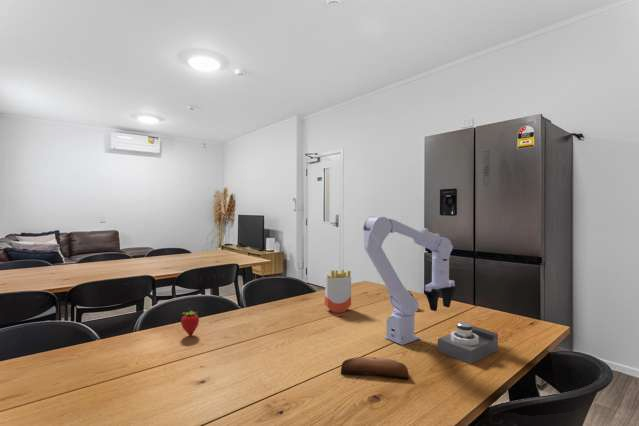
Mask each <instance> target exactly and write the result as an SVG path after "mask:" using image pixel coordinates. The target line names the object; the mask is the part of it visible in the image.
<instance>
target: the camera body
mask: <svg viewBox="0 0 639 426" xmlns="http://www.w3.org/2000/svg"><path fill="white" fill-rule="evenodd" d="M498 341H499V333H498V332H494V331H491V330H489V329H488V330H487V329H484V328H480V327H477V326H473V325H472V339H464V338H460V337H457V330H452V331H451V332H450V333H448V334H446V335H444V336H441V337H439V338H437V352H438V353H441V354H443V355H445V356H448V357H451V358H453V359H457V360H459V361H461V362H464V363H466V364H469V365H473V364H475V363H477V362H478V361H480V360H482V359H484V358H486V357H488V356H490V355H492V354H494V353H496V352H498V349H499V343H498Z"/></svg>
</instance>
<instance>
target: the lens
mask: <svg viewBox="0 0 639 426" xmlns="http://www.w3.org/2000/svg"><path fill="white" fill-rule="evenodd" d="M472 326H473V324H472V323H470V322H468V321H457V322H456V331H457V337H460V338H464V339H472Z"/></svg>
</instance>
